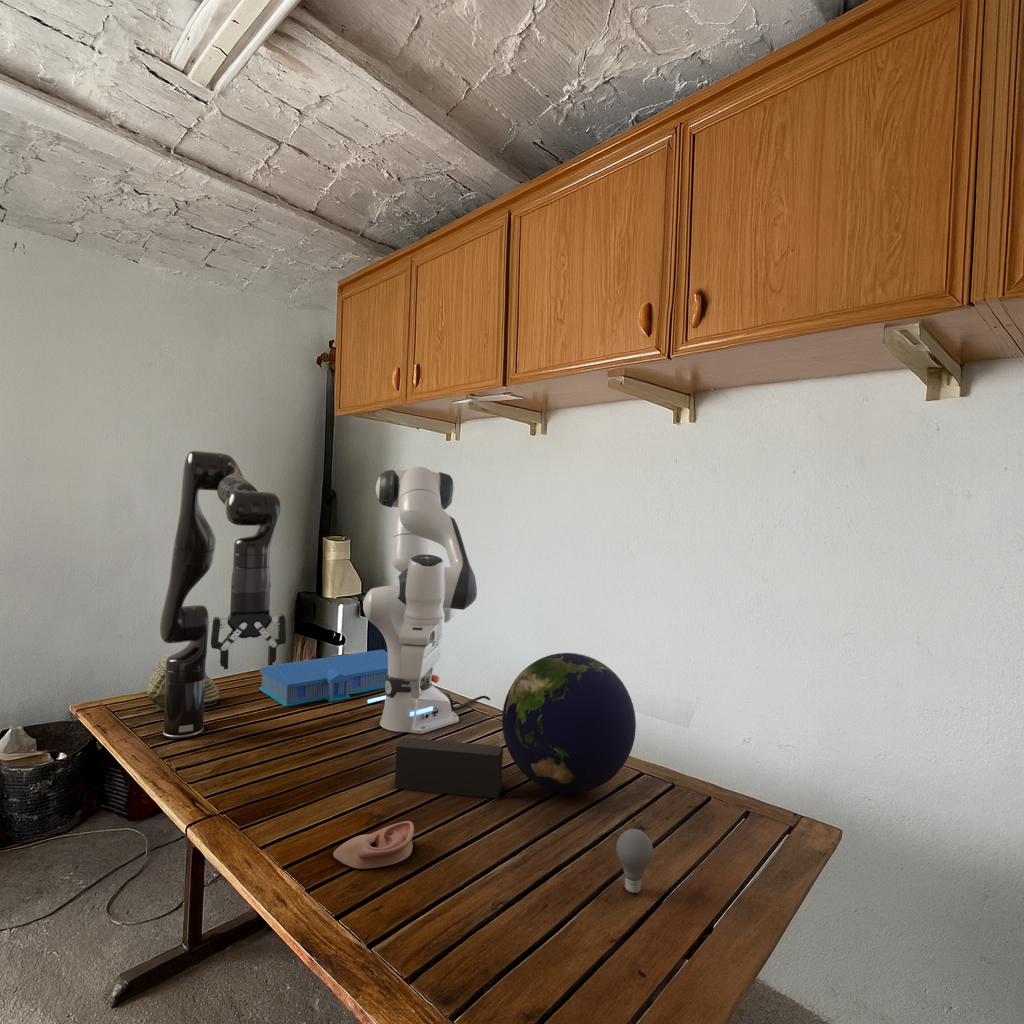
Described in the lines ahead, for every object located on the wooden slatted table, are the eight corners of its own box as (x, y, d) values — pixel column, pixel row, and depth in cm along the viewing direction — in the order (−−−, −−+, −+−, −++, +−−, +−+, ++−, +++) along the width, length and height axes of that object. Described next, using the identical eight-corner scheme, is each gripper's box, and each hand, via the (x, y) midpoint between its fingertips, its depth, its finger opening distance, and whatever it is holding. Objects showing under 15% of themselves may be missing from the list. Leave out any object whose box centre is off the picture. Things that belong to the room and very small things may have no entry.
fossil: (144, 707, 182) (145, 655, 182) (212, 696, 194) (213, 647, 194) (151, 716, 175) (153, 662, 175) (221, 703, 188) (223, 653, 188)
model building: (289, 709, 186) (291, 675, 185) (258, 688, 204) (259, 657, 204) (403, 687, 212) (405, 657, 212) (366, 670, 230) (368, 643, 230)
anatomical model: (325, 840, 109) (354, 809, 121) (324, 863, 109) (354, 830, 121) (397, 852, 107) (421, 819, 118) (396, 876, 107) (420, 840, 118)
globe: (477, 800, 135) (483, 660, 134) (527, 751, 163) (532, 634, 162) (615, 833, 124) (622, 681, 123) (643, 774, 151) (649, 649, 151)
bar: (501, 787, 142) (503, 746, 142) (497, 798, 136) (499, 755, 136) (401, 778, 144) (403, 737, 144) (394, 788, 139) (396, 746, 139)
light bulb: (610, 879, 108) (613, 822, 108) (644, 879, 109) (647, 822, 109) (619, 902, 102) (622, 840, 102) (655, 901, 103) (658, 840, 103)
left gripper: (284, 584, 137) (281, 659, 137) (211, 586, 130) (208, 664, 131) (290, 589, 131) (287, 668, 131) (213, 592, 124) (211, 674, 124)
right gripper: (421, 619, 151) (419, 677, 151) (396, 637, 131) (394, 703, 131) (447, 621, 150) (445, 679, 151) (426, 639, 130) (424, 706, 130)
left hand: (248, 666), depth 131 cm, fingers open, 8 cm apart
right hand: (421, 690), depth 141 cm, fingers open, 8 cm apart
